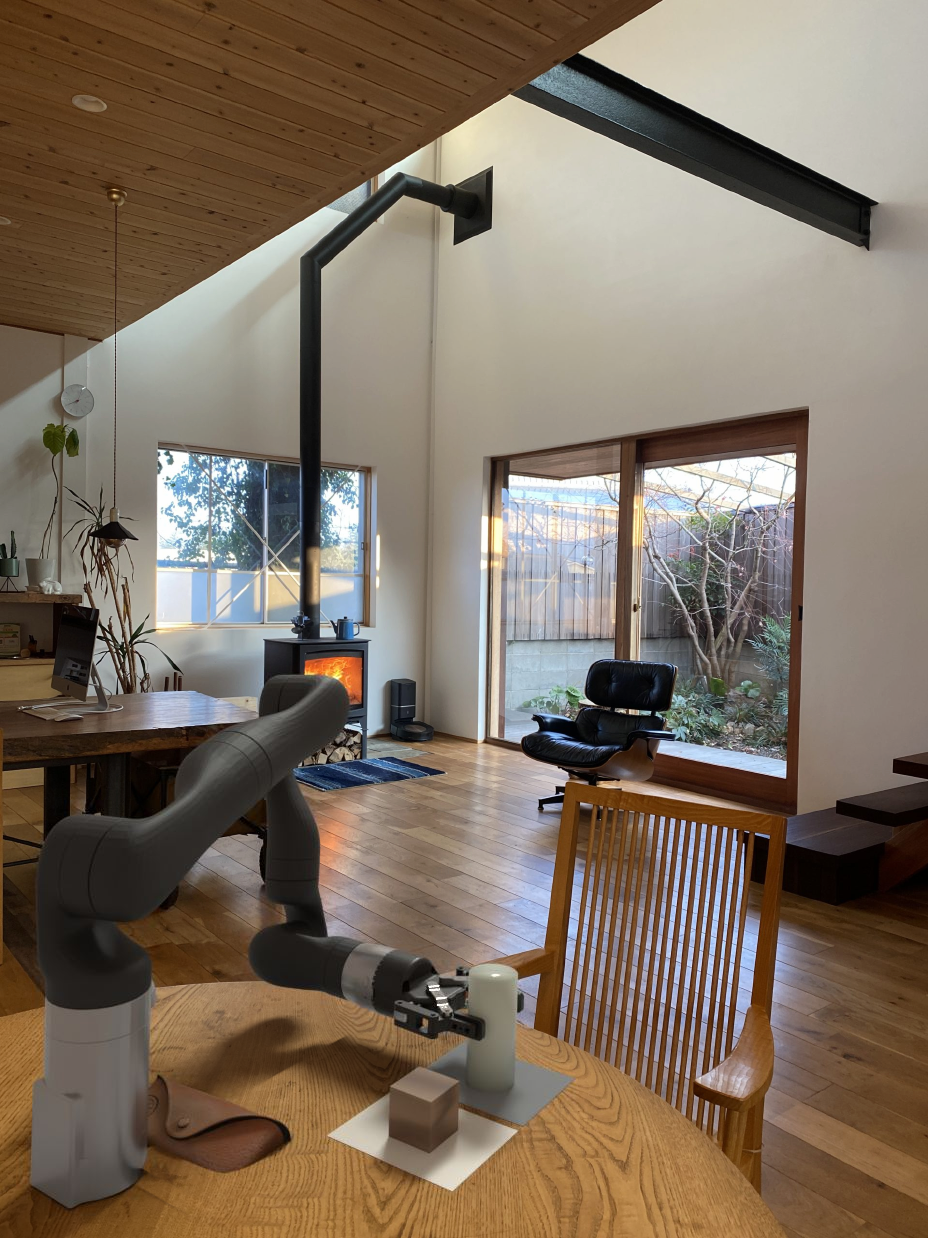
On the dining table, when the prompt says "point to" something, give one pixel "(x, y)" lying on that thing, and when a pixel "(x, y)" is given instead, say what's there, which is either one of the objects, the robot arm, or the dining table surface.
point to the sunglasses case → (209, 1128)
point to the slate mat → (511, 1104)
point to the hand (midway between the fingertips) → (503, 1017)
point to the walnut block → (424, 1109)
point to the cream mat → (438, 1167)
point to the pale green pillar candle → (493, 1027)
